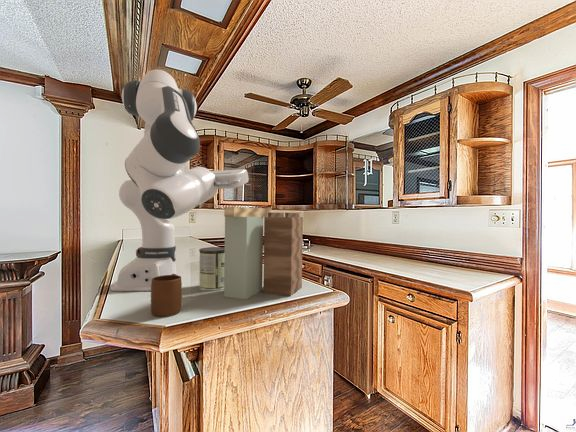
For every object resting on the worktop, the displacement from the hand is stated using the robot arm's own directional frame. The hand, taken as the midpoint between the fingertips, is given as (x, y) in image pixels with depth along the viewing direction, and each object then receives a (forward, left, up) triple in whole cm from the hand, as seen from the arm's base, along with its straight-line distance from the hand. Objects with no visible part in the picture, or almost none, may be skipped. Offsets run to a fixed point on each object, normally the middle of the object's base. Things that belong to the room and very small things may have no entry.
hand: (224, 172), depth 84 cm
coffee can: (-3, +20, -39) cm, 44 cm away
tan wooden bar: (+9, +9, -13) cm, 18 cm away
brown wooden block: (+21, +11, -39) cm, 46 cm away
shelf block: (+7, +10, -39) cm, 41 cm away
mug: (-15, -2, -39) cm, 42 cm away
